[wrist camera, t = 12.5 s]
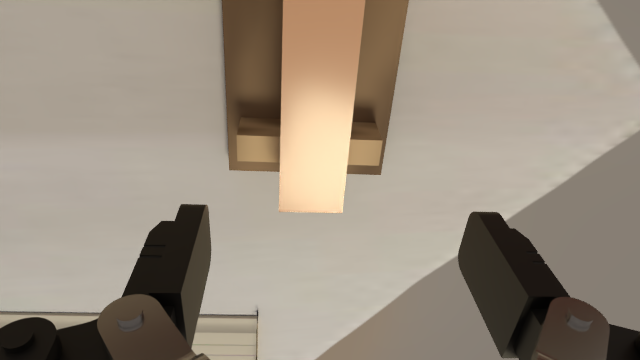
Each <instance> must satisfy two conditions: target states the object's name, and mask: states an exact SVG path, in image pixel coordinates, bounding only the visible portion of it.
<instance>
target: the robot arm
mask: <svg viewBox="0 0 640 360" xmlns="http://www.w3.org/2000/svg"><path fill="white" fill-rule="evenodd" d="M210 261H211V238H210V224H209V211H208V206H207V205H192V204H181V206H180V208H179V211H178V213H177V216H176V219H175V221H161V222H160V223H159V224H158V225H157V226H156V227H155V228H153V229H152V230H151V231H150V232H149V234H148V237H147V239H146V241H145V244H144V247H143V248H142V251H141V253H140V257H139V258H138V260H137V262H136V265H135V267H134V269H133V272H132V274H131V276H130V279H129V281H128V283H127V286H126V288H125V290H124V293H123V295H122V297H121V298H119V299H117V300H115V301H113V302H112V303H110V304H109V305H108V306H107V307H105V309H104V310H103V311H102V312H101V314H100V315H99V318H97V319H95V320H92V321H90V322H86V323H83V324H78V325H74V326H70V327H66V328H62V329H58V330H56V327H55V325H54V324H53V323H52V322H51V321H50V320H48V319H45V318H41V317H29V318H23V319H20V320H16V321H14V322H11V323H9V324H7V325H5V326H3V327H2V328H0V360H210V359H209V358H208V357H207V356H206V355H205V354H204V353H201V354H199V355H196V354H195V353H194V352H193V350H192V344H193V340H194V335H195V330H196V326H197V321H198V317H199V312H200V308H201V303H202V299H203V294H204V290H205V285H206V281H207V276H208V272H209V267H210ZM458 261H459V267H460V270H461V272H462V275H463V277H464V279H465V281H466V283H467V285H468V287H469V289H470V292H471V294H472V296H473V298H474V300H475V302H476V304H477V306H478V308H479V310H480V313H481V315H482V317H483V319H484V321H485V323H486V326H487V328H488V330H489V332H490V334H491V336H492V338H493V340H494V343H495V345H496V347H497V349H498V351H499V353H500V355H501V357H502V358H519V360H640V332H638V331H635V330H631V329H627V328H623V327H619V326H615V325H611V324H609V323H608V322H607V320H606V318H605V317H604V316H603V315H602V314H601V313H600V312H599V311H598V310H597V309H596V308H594V307H593V306H591V305H590V304H588V303H586V302H584V301H581V300H579V299H575V298H571V297H570V296H569V295H568V293H567V292H566V291H565V289H564V288H563V286H562V285H561V284H560V282H559V281H558V280H557V278H556V277H555V275H554V274H553V273H552V271H551V270H550V268H549V267H548V266H547V264H545V263H544V262H545V261H544V260H543V259H542V257H541V256H540V254H537V250H536V249H535V247H534V246H533V245H532V243H531V242H530V240H529V239H528V238H526V237H525V236H524V235H522V234H521V233H520V232H518V231H517V230H516V229H510V228H509V227H508V225H507V224H506V222H505V221H504V219H503V218H502V216H501V215H500V214H499V213H498V212H472V213H471V214H470V216H469V218H468V222H467V225H466V228H465V232H464V235H463V238H462V242H461V245H460V248H459V253H458Z"/></svg>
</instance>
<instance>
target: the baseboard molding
mask: <svg viewBox="0 0 640 360" xmlns="http://www.w3.org/2000/svg"><path fill="white" fill-rule="evenodd" d="M100 314H101V313H34V312H0V328H2V327H3V326H5V325H7V324H9V323H11V322H14V321H16V320H20V319H23V318H29V317H41V318H45V319H48V320H50V321H51V322H52V323H53V324H54V325H55V327H56V330H58V329H62V328H66V327H70V326H74V325H78V324H83V323H86V322H90V321H92V320H95V319H97V318H99V315H100ZM257 329H258V312H257V316H235V315H199V317H198V321H197V326H196V330H195V335H194V340H193V344H192V350H193V352H194V353H195V354H196V355H199V354H201V353H204V354H205V355H206V356H207V357H208V358H209V359H210V360H257Z"/></svg>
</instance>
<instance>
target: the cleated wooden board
mask: <svg viewBox="0 0 640 360" xmlns="http://www.w3.org/2000/svg"><path fill="white" fill-rule="evenodd" d="M408 2H409V0H365V9H364V18H363V27H362V36H361V45H360V54H359V64H358V73H357V82H356V91H355V100H354V109H353V118H352V128H351V137H350V146H349V155H348V164H347V173H346V174H369V175H381V170H382V163H383V157H384V151H385V145H386V138H387V132H388V126H389V120H390V114H391V107H392V101H393V95H394V89H395V82H396V76H397V70H398V64H399V58H400V51H401V45H402V39H403V33H404V27H405V20H406V14H407V8H408ZM222 10H223V33H224V57H225V80H226V103H227V126H228V149H229V170H242V171H274V172H280V133H281V81H282V29H283V0H222Z"/></svg>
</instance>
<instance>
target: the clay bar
mask: <svg viewBox="0 0 640 360" xmlns="http://www.w3.org/2000/svg"><path fill="white" fill-rule="evenodd" d="M364 9H365V0H283V29H282V81H281V133H280V184H279V212H317V213H342V210H343V201H344V192H345V182H346V173H347V164H348V155H349V146H350V137H351V128H352V118H353V109H354V100H355V91H356V82H357V73H358V64H359V54H360V45H361V36H362V27H363V18H364Z"/></svg>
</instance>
